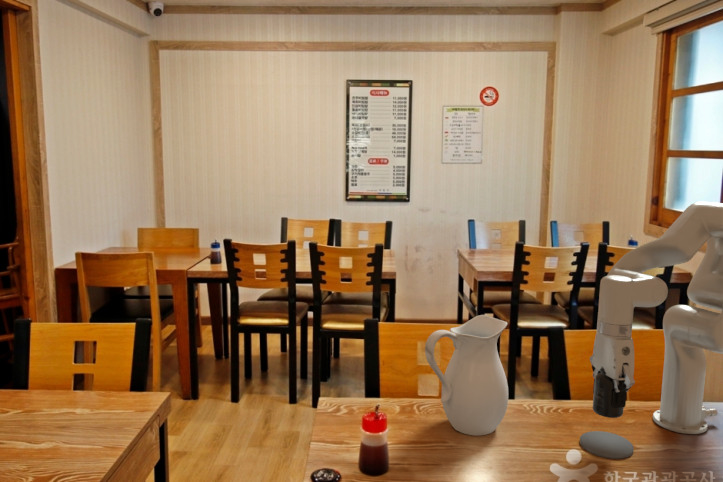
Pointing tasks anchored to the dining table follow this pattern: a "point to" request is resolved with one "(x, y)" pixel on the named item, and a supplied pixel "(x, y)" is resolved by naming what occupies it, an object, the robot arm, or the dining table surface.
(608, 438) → the coaster
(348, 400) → the dining table surface
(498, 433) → the dining table surface
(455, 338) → the pitcher
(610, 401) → the supplement bottle
